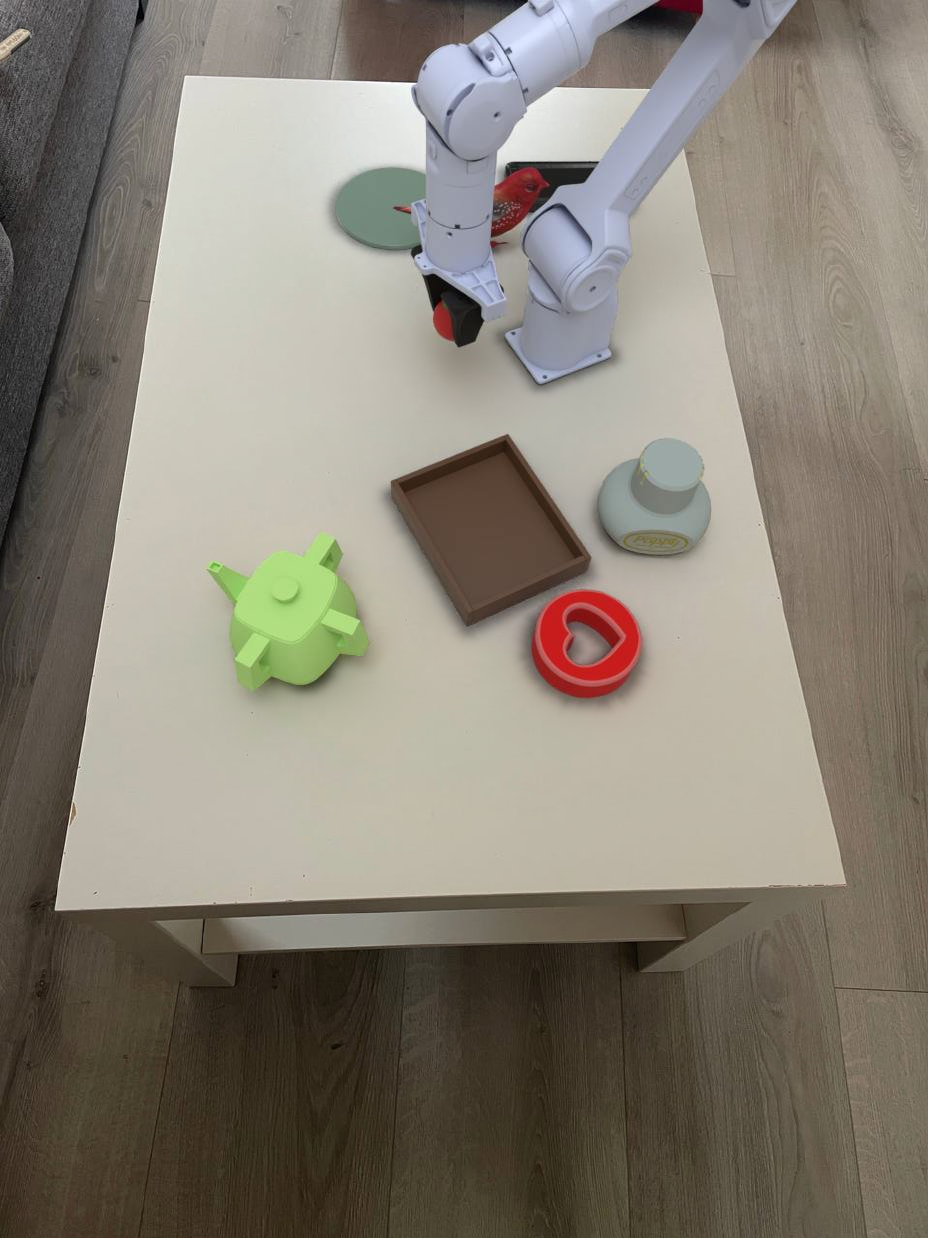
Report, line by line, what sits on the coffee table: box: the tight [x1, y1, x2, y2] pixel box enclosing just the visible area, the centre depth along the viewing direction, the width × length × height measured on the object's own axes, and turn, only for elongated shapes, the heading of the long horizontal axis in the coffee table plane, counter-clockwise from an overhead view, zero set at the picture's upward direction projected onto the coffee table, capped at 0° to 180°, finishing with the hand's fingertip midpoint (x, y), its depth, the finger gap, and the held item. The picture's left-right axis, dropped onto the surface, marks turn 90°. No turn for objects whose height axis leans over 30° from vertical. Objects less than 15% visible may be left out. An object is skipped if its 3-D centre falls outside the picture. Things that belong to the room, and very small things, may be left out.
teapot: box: [205, 531, 371, 692], centre depth 74 cm, size 12×12×10 cm
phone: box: [504, 160, 600, 212], centre depth 106 cm, size 8×1×15 cm
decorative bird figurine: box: [393, 168, 549, 249], centre depth 97 cm, size 3×18×10 cm, turn 98°
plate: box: [335, 166, 426, 251], centre depth 104 cm, size 14×14×1 cm
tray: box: [390, 433, 592, 627], centre depth 83 cm, size 13×16×3 cm
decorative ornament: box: [531, 588, 643, 699], centre depth 78 cm, size 10×10×3 cm
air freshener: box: [597, 437, 712, 555], centre depth 81 cm, size 11×8×10 cm
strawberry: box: [432, 300, 454, 342], centre depth 83 cm, size 4×4×5 cm
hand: (454, 326), depth 85 cm, fingers closed on strawberry, 4 cm apart
